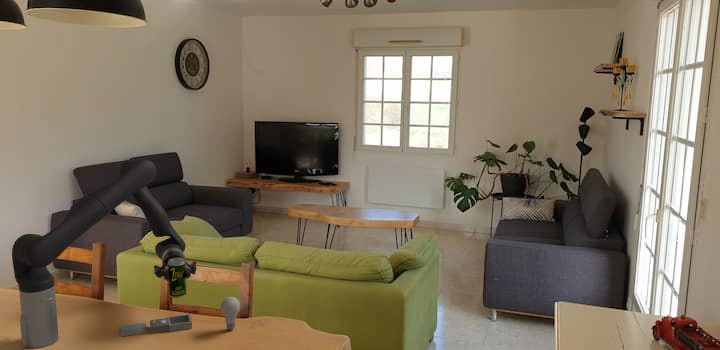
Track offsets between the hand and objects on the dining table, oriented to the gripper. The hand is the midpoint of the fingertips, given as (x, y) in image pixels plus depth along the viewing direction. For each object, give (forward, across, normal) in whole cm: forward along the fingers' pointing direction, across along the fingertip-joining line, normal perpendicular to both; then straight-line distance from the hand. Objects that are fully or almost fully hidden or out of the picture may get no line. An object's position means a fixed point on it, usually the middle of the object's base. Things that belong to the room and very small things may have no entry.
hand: (177, 276), depth 175 cm
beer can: (-3, 0, +7) cm, 8 cm away
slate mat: (-4, -14, +18) cm, 23 cm away
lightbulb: (+6, +15, +18) cm, 24 cm away
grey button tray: (-2, -2, +18) cm, 18 cm away
